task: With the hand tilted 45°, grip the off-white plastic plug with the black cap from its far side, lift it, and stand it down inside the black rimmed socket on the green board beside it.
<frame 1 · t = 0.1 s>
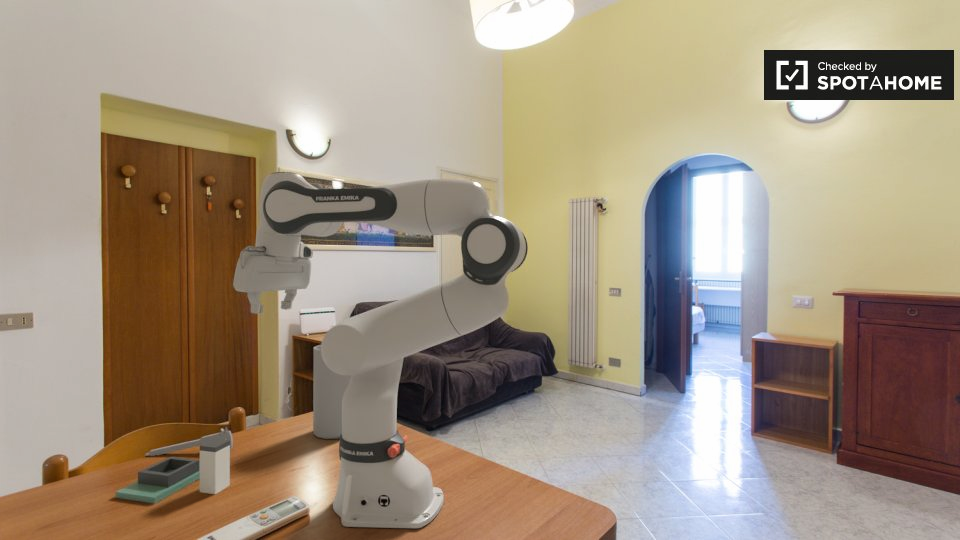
hand: (271, 310, 97), 39 cm above the table, tool pointing down, fingers open, 8 cm apart
cylinder vase: (336, 432, 131), on the table
plug: (214, 488, 98), on the table
caliper: (189, 454, 116), on the table
socket: (169, 482, 100), on the table
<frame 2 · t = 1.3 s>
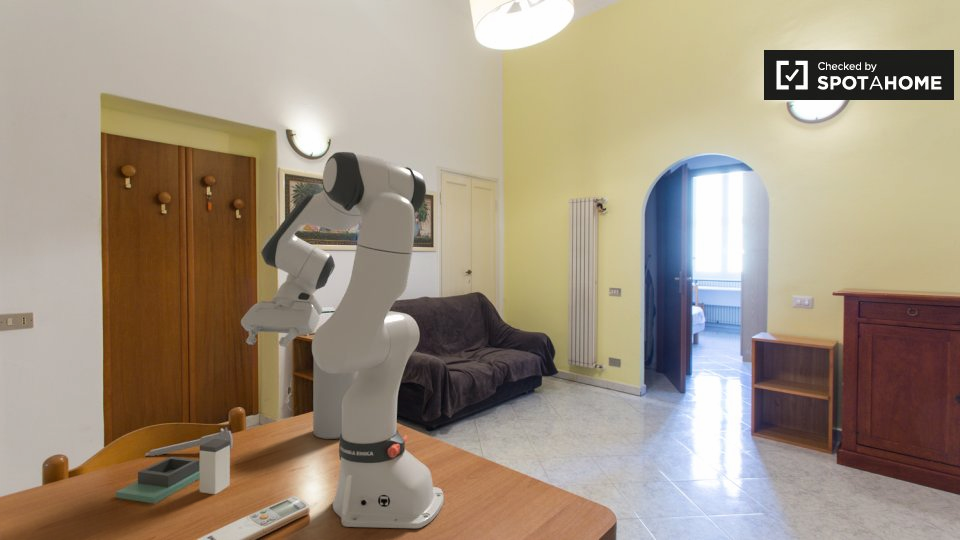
hand: (265, 344, 113), 29 cm above the table, tool tilted 45°, fingers open, 8 cm apart
nothing on the table moved.
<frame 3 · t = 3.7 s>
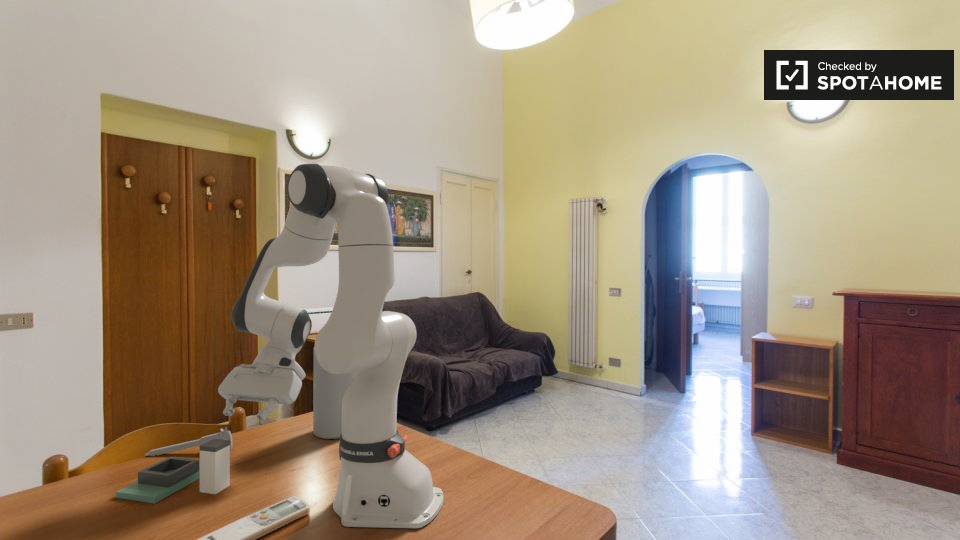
hand: (243, 416, 106), 13 cm above the table, tool tilted 45°, fingers open, 8 cm apart
nothing on the table moved.
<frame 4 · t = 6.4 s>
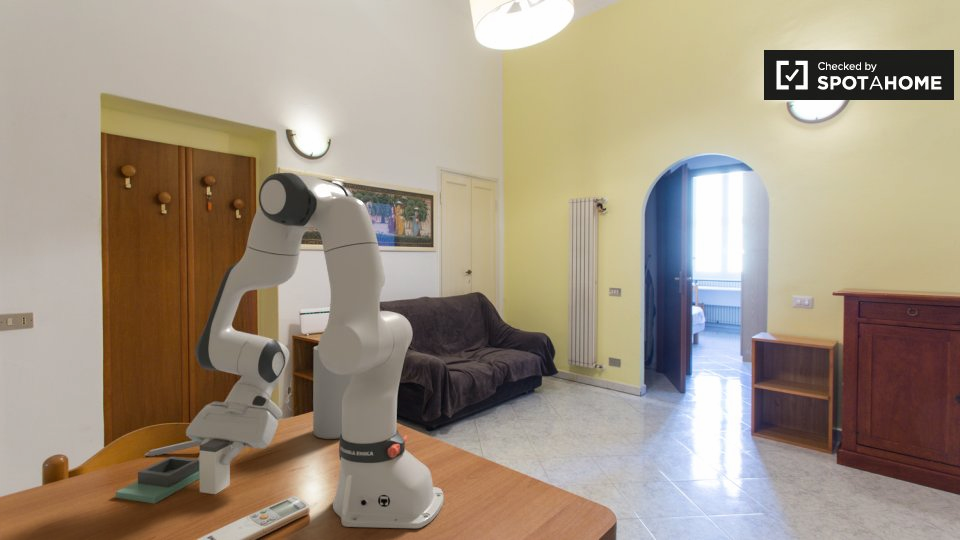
hand: (212, 463, 97), 6 cm above the table, tool tilted 45°, fingers closed on plug, 4 cm apart
plug: (214, 488, 98), on the table, touching gripper
everything else where it was.
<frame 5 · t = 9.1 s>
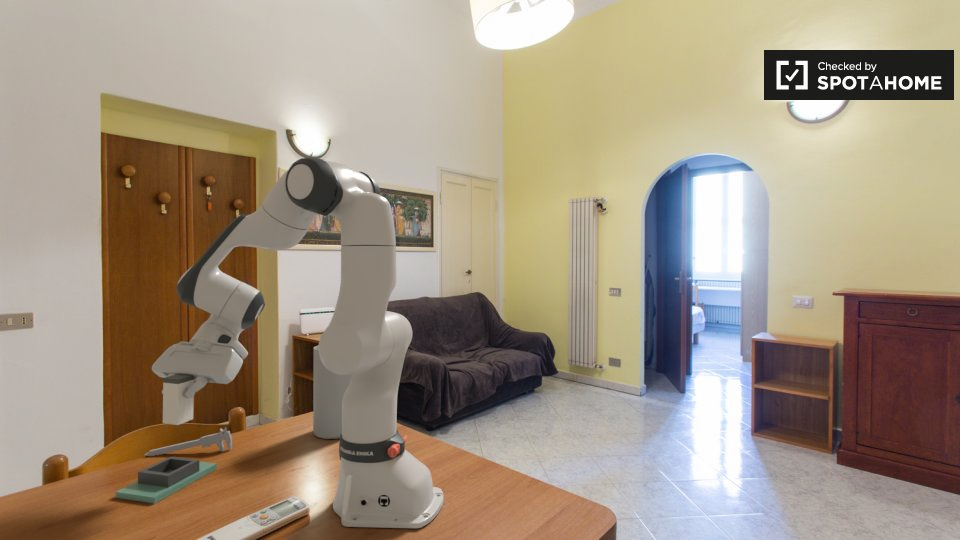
hand: (175, 395, 99), 20 cm above the table, tool tilted 45°, fingers closed on plug, 4 cm apart
plug: (178, 421, 100), point 14 cm above the table, touching gripper
everything else where it was.
when the fingers open (9 cm above the table, at t = 12.2 s): plug drops 1 cm, resting on socket.
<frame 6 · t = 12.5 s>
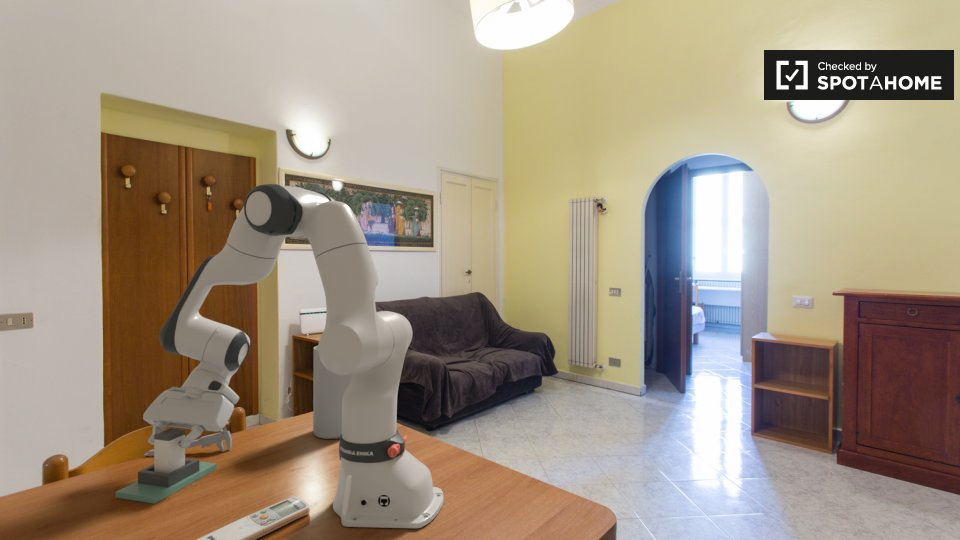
hand: (167, 445, 99), 9 cm above the table, tool tilted 45°, fingers open, 7 cm apart
plug: (169, 476, 100), point 1 cm above the table, touching socket
everything else where it was.
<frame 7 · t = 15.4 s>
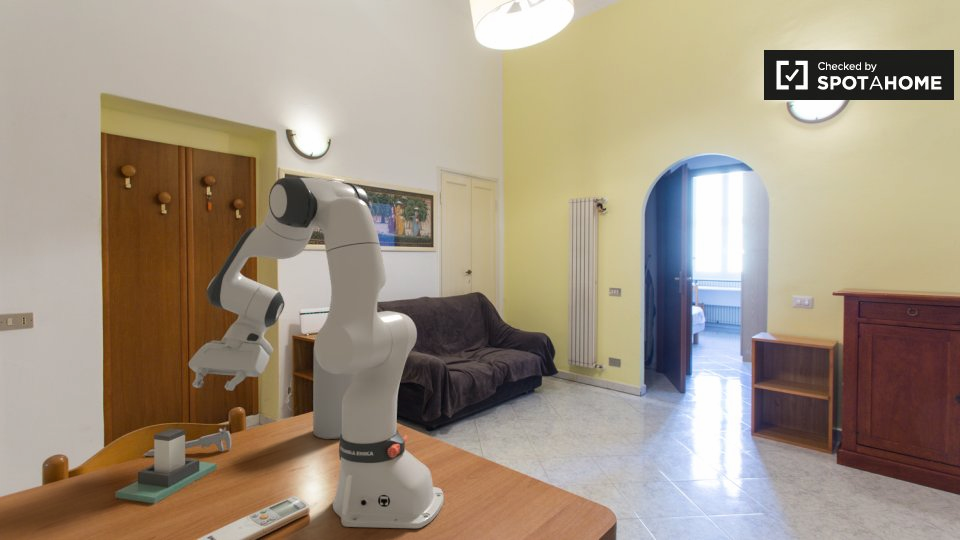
hand: (211, 387, 111), 18 cm above the table, tool tilted 45°, fingers open, 8 cm apart
nothing on the table moved.
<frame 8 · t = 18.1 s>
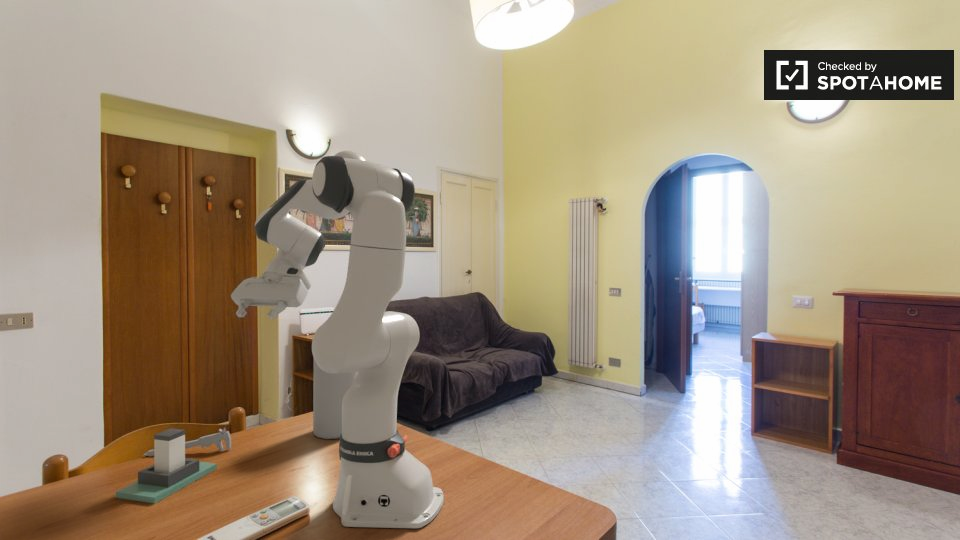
hand: (255, 316, 116), 35 cm above the table, tool tilted 45°, fingers open, 8 cm apart
nothing on the table moved.
at the end: plug 0.0 cm off-centre on the socket, point 1.2 cm above the socket's base; plug tilted 0°; the gripper is holding nothing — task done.
